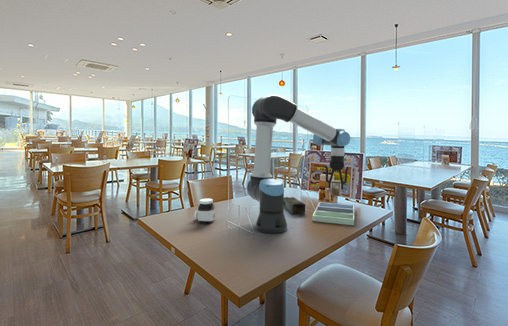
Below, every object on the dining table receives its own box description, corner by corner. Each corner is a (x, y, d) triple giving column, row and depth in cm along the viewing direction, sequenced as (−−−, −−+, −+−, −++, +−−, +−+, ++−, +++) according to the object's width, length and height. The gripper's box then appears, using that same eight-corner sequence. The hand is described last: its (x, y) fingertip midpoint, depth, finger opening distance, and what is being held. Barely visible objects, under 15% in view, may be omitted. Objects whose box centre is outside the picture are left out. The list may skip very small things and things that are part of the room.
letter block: (331, 195, 159) (331, 181, 158) (331, 193, 163) (332, 180, 162) (339, 196, 157) (339, 181, 156) (339, 194, 161) (340, 180, 161)
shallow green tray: (315, 215, 151) (315, 210, 151) (317, 211, 160) (317, 206, 160) (354, 219, 144) (354, 214, 144) (354, 214, 153) (354, 209, 153)
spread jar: (210, 225, 136) (209, 202, 135) (189, 223, 138) (188, 201, 137) (217, 218, 148) (217, 197, 147) (198, 216, 150) (198, 196, 149)
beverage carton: (294, 205, 173) (294, 195, 172) (305, 214, 154) (306, 203, 154) (282, 206, 171) (282, 196, 171) (292, 215, 153) (292, 204, 152)
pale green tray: (312, 220, 142) (312, 215, 142) (314, 216, 151) (314, 210, 150) (354, 225, 135) (354, 219, 135) (354, 219, 144) (354, 214, 143)
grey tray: (317, 210, 161) (317, 205, 160) (319, 207, 169) (319, 202, 169) (354, 214, 154) (354, 209, 153) (354, 210, 162) (354, 205, 162)
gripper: (353, 155, 159) (351, 194, 161) (322, 154, 165) (321, 191, 167) (353, 156, 152) (351, 197, 154) (321, 155, 158) (319, 194, 160)
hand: (335, 194), depth 160 cm, fingers closed on letter block, 4 cm apart
